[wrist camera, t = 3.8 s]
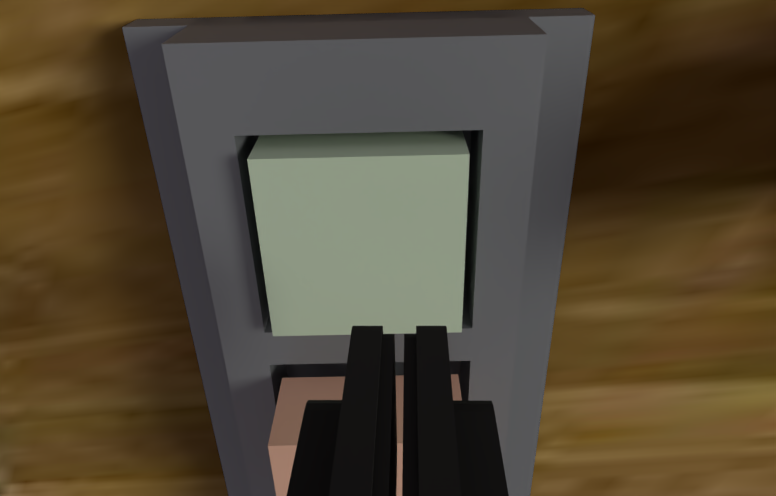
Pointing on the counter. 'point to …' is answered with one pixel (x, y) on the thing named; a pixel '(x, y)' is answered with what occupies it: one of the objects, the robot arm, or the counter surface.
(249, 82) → the keypad housing
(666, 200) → the counter surface
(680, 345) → the counter surface
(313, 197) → the key
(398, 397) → the key
